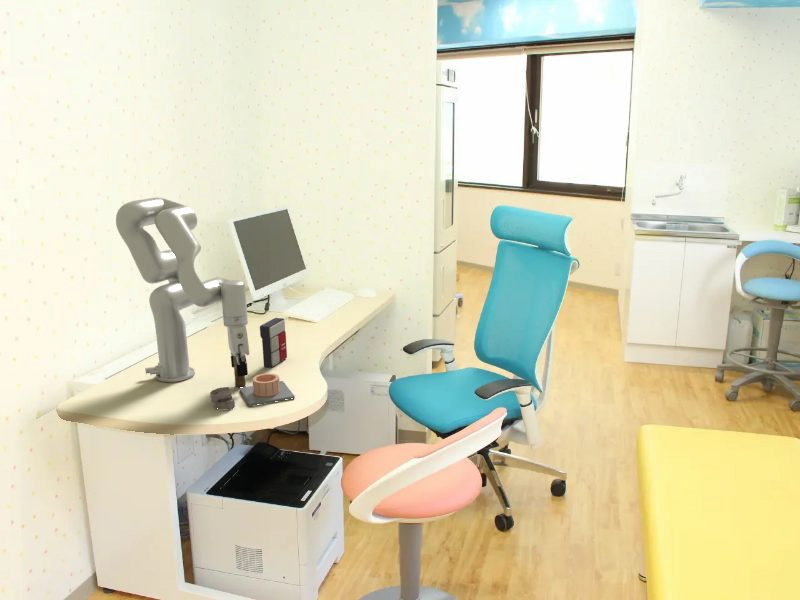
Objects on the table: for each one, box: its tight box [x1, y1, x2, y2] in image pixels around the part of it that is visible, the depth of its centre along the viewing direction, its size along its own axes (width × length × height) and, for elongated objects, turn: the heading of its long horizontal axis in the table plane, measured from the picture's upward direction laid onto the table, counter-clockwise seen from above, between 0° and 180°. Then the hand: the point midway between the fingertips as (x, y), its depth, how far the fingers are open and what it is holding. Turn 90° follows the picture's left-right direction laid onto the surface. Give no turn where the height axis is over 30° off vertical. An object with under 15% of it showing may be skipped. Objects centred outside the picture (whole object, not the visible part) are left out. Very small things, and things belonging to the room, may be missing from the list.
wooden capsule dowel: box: [233, 354, 246, 389], centre depth 229 cm, size 3×3×12 cm
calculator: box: [259, 317, 288, 369], centre depth 250 cm, size 11×4×15 cm, turn 160°
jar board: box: [239, 372, 296, 407], centre depth 222 cm, size 14×14×6 cm
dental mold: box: [209, 386, 236, 411], centre depth 214 cm, size 8×7×5 cm
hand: (239, 370), depth 229 cm, fingers open, 8 cm apart
